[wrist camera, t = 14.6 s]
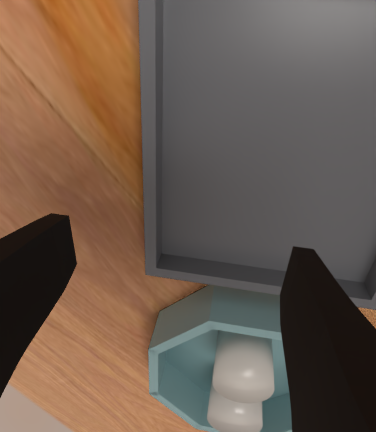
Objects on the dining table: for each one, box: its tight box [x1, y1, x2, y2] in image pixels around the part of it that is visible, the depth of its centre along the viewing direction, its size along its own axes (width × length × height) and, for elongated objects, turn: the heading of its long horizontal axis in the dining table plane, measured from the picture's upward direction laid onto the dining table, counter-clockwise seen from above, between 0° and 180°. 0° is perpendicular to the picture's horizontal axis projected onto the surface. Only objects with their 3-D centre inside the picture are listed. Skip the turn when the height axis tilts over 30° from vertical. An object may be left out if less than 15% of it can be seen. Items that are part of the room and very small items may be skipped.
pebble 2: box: [207, 365, 263, 432], centre depth 26 cm, size 4×4×4 cm
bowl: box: [148, 285, 292, 432], centre depth 26 cm, size 13×13×4 cm
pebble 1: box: [212, 330, 274, 403], centre depth 24 cm, size 4×4×4 cm
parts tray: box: [138, 0, 376, 310], centre depth 18 cm, size 14×16×2 cm
